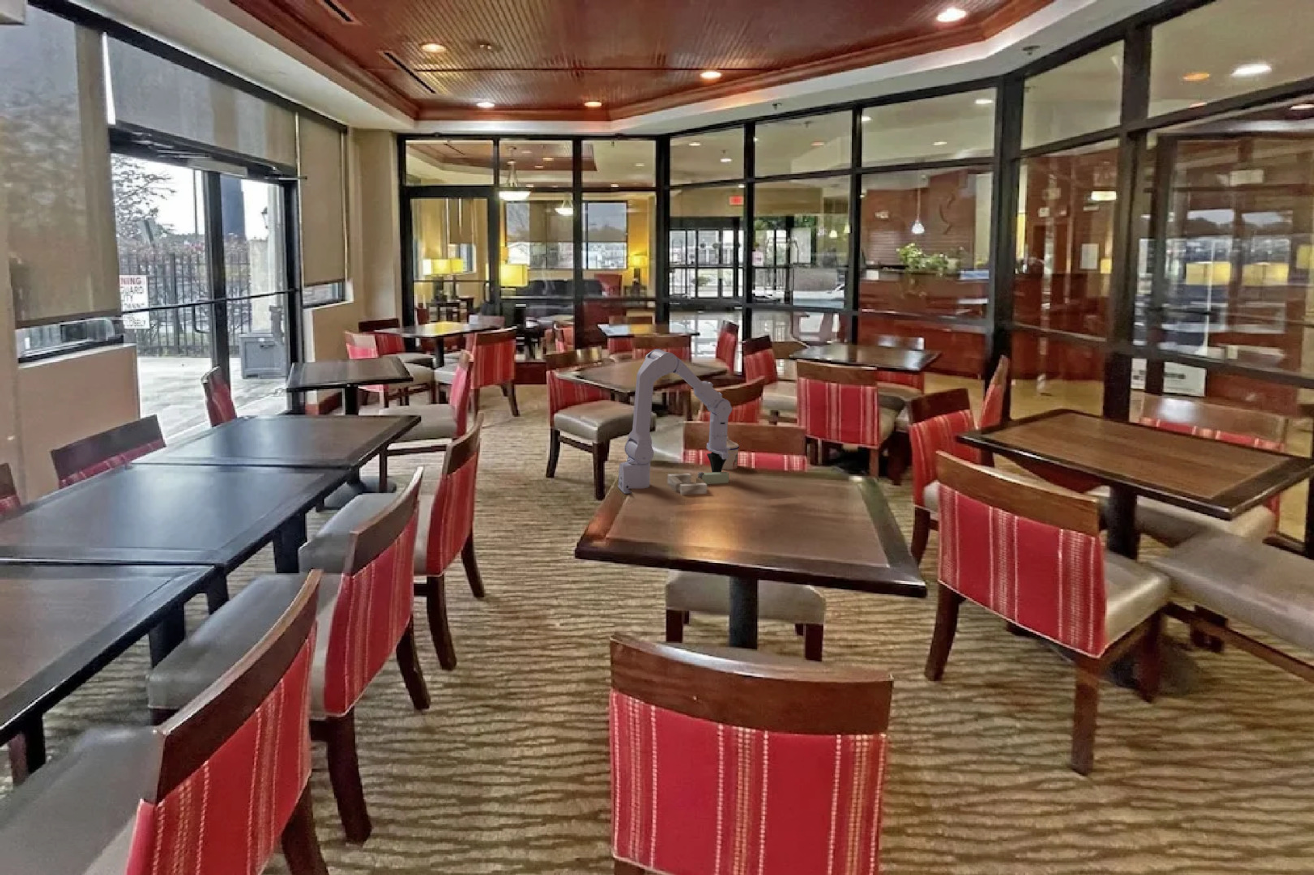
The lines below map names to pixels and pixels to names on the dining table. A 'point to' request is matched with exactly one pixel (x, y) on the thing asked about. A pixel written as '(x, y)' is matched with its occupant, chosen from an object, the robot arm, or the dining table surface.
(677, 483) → the cream shallow tray
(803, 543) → the dining table surface
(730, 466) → the teacup with lid
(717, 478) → the green rectangular block
